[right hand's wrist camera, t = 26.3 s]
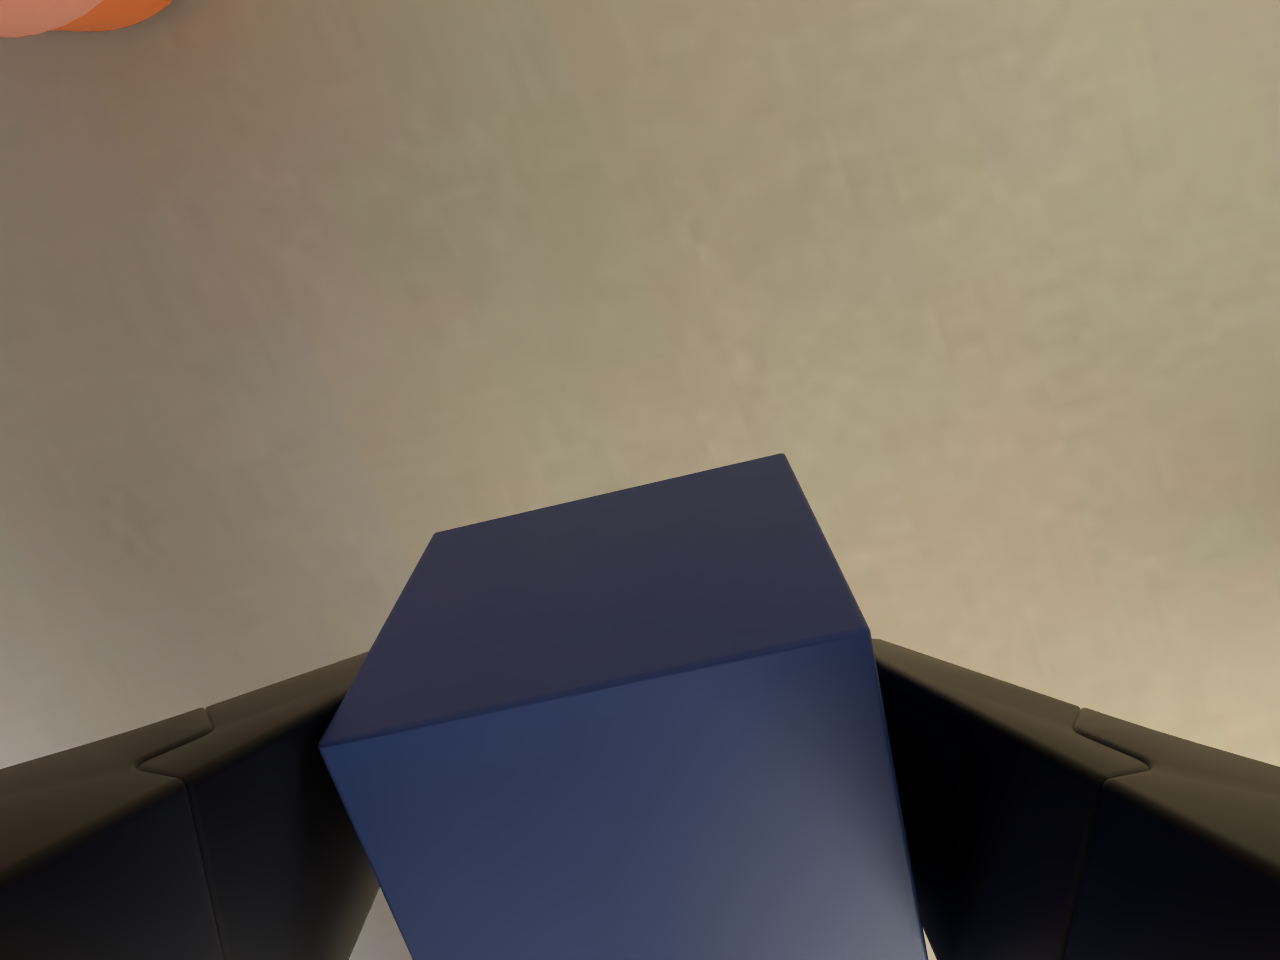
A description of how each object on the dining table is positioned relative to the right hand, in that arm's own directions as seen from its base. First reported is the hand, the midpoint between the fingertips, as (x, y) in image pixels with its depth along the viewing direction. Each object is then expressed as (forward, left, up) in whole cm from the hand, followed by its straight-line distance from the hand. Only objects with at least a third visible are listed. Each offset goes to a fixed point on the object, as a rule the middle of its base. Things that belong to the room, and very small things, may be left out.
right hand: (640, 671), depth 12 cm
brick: (0, 0, -1) cm, 1 cm away
